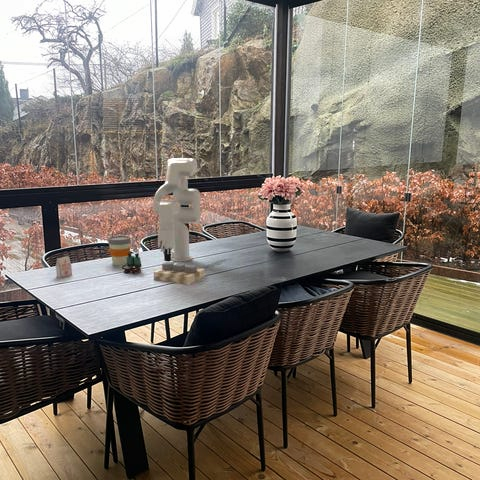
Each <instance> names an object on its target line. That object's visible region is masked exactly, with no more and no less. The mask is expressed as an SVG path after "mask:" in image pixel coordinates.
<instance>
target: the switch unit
mask: <svg viewBox="0 0 480 480" xmlns="http://www.w3.org/2000/svg"><path fill="white" fill-rule="evenodd" d="M205 271H206V269H205V268H199V267H197V272H195V273H193V274H192V273H185V271H182V272H176V271H174V269H172V270H170V271H169V270H162V268H160V269H157V270H155V271H153V280H157V281H163V282H169V283H178V284H185V285H190V284H192V283H194V282H197V281H199V280H200V279H202V278H205V277H206V272H205Z"/></svg>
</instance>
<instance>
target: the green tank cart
mask: <svg viewBox="0 0 480 480" xmlns="http://www.w3.org/2000/svg"><path fill="white" fill-rule="evenodd" d="M142 266H143V265H142V261H141V257H140V256H139V252H136V253H135V254H134V256H133V255H132V252H131V251H130V252H128V257H127V263H126V264H124V265H121V269H122V270H123V273H124V274H132V275H135V274H137V273H139V272H142V269H141V268H142Z"/></svg>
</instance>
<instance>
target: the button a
mask: <svg viewBox="0 0 480 480" xmlns="http://www.w3.org/2000/svg"><path fill="white" fill-rule="evenodd" d="M173 265H175V263H174V262H171V261H165V262H164V263H162V264H161V269H162V270H169V271H170V270H172V269H174V267H173Z"/></svg>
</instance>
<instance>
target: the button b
mask: <svg viewBox="0 0 480 480" xmlns="http://www.w3.org/2000/svg"><path fill="white" fill-rule="evenodd" d="M173 267H174V271H176V272H182V271H185V267H186V263H180V262H177V263H176V264H175V263H174V265H173Z"/></svg>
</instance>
